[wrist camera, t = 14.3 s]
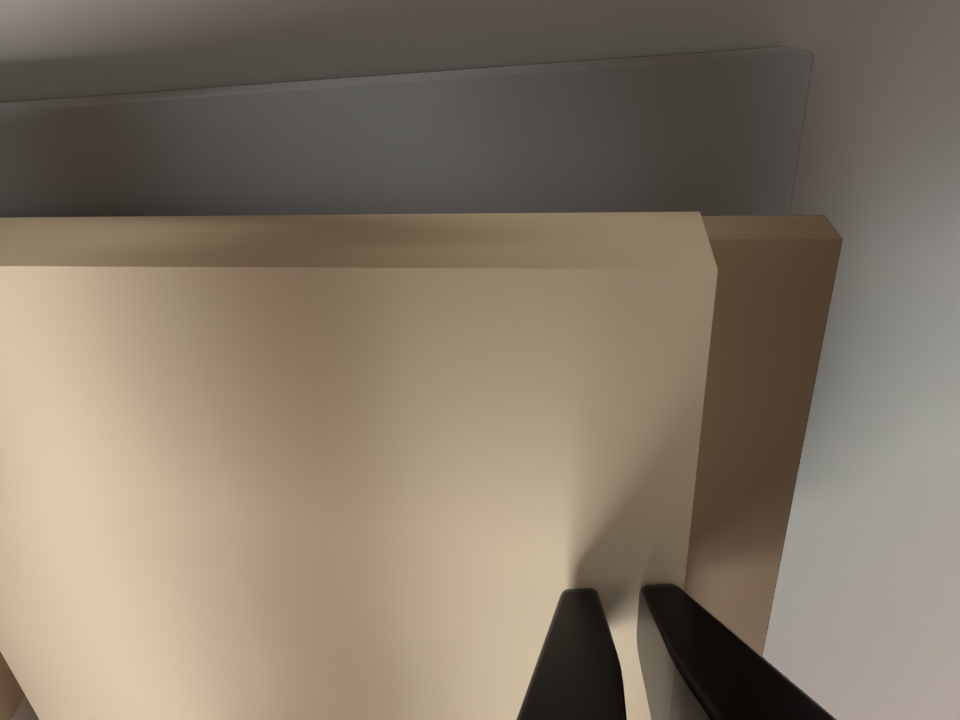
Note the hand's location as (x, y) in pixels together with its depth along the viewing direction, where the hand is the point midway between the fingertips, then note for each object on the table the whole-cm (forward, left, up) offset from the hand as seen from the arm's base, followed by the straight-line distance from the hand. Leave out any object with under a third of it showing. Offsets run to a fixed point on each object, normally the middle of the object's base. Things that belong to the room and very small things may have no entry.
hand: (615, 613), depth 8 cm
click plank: (-3, +1, -2) cm, 4 cm away
